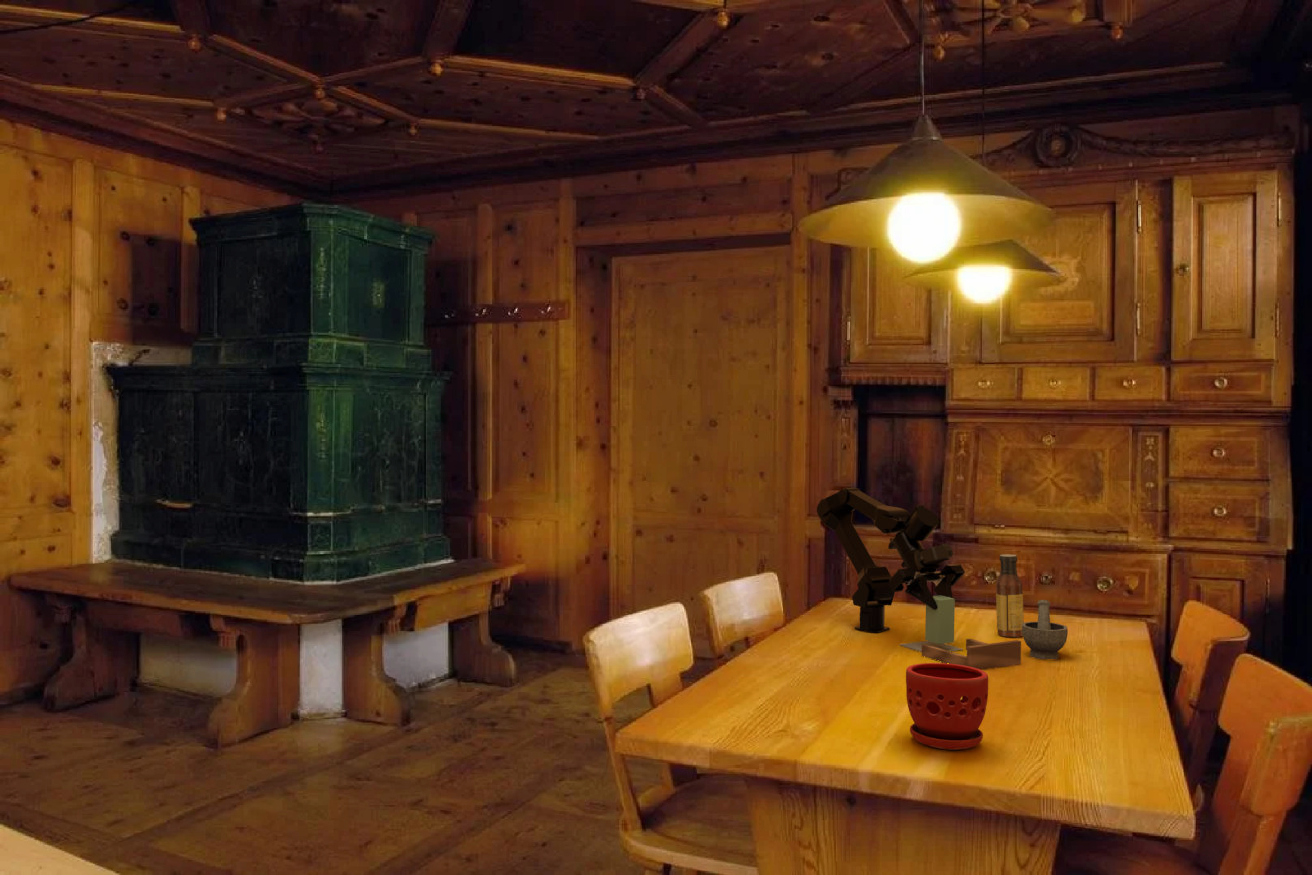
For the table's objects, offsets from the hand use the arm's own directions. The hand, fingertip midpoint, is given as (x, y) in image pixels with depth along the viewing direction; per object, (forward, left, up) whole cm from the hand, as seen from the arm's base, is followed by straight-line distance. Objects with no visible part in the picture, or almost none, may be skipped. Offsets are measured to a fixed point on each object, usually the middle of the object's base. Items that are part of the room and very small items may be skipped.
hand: (944, 607), depth 228 cm
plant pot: (+57, +32, -10) cm, 66 cm away
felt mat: (-1, -4, -10) cm, 11 cm away
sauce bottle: (-27, +2, -10) cm, 29 cm away
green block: (0, -1, -8) cm, 8 cm away
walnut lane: (+2, +7, -10) cm, 13 cm away
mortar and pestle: (-13, +17, -10) cm, 24 cm away
